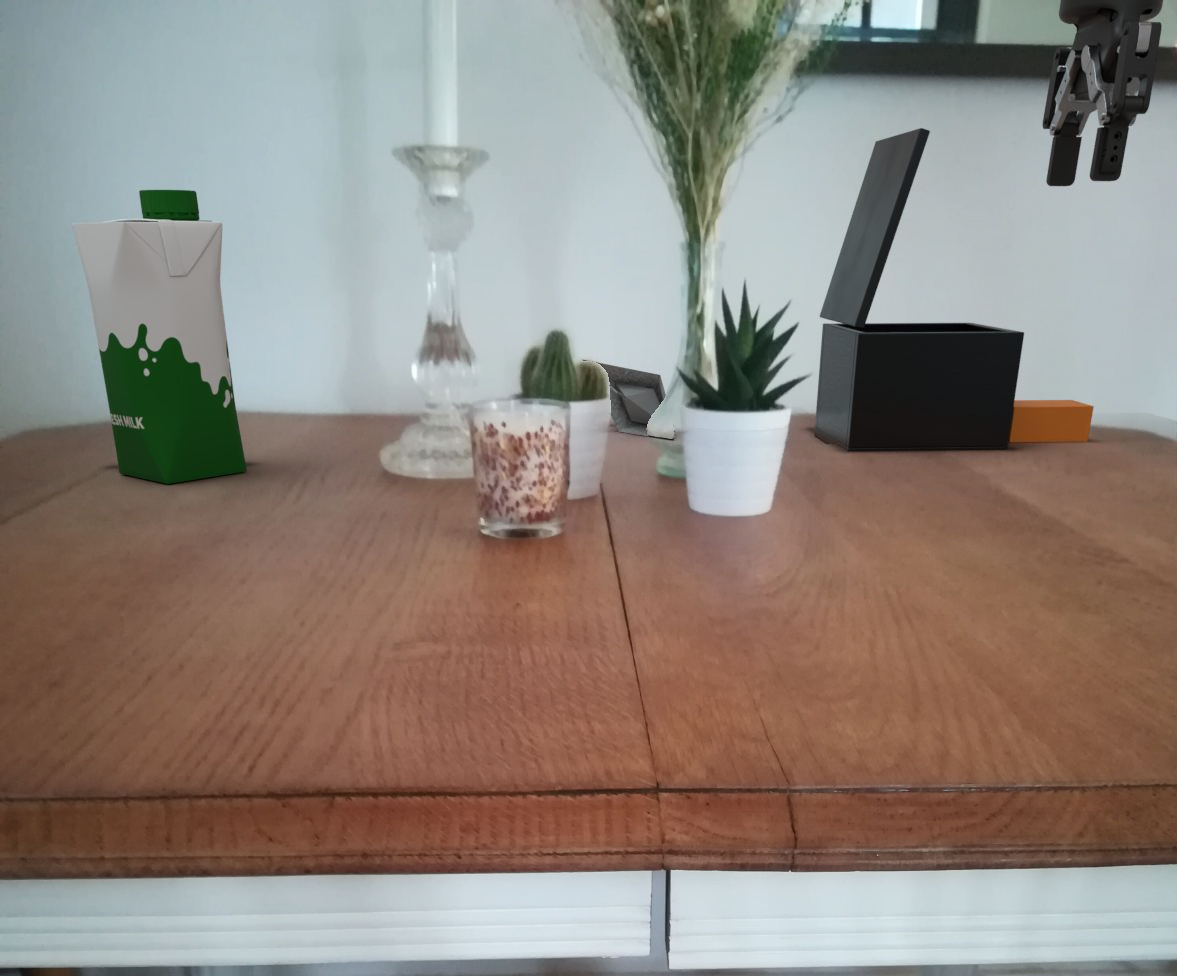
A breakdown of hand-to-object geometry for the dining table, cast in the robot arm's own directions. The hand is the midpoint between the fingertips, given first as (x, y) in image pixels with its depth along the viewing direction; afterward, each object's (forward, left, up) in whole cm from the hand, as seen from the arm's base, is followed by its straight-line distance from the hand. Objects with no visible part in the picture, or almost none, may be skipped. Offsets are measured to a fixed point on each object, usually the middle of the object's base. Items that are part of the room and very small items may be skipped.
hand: (1080, 183), depth 96 cm
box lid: (+17, +1, -4) cm, 18 cm away
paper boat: (+37, -8, -21) cm, 43 cm away
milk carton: (+74, +11, -21) cm, 77 cm away
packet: (+1, +1, -21) cm, 21 cm away
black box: (+13, +1, -21) cm, 24 cm away
